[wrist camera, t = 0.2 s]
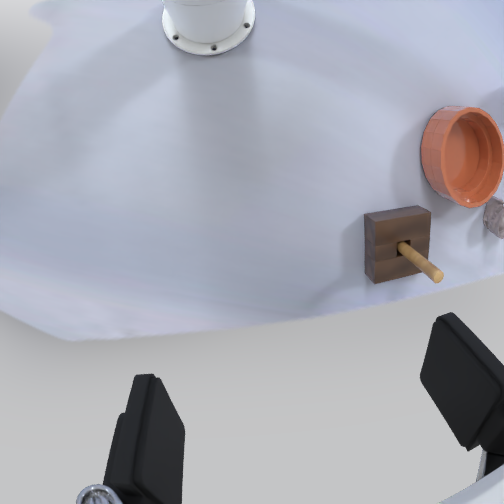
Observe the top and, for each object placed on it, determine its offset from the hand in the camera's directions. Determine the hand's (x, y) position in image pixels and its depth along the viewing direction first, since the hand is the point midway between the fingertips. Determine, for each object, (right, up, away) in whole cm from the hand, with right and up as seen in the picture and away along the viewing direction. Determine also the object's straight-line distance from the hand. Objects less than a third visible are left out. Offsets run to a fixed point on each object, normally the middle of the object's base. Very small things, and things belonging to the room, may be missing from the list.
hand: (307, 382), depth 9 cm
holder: (+22, +6, +39) cm, 45 cm away
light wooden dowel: (+22, +6, +39) cm, 45 cm away
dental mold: (+47, +12, +40) cm, 63 cm away
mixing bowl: (+33, +21, +34) cm, 52 cm away
